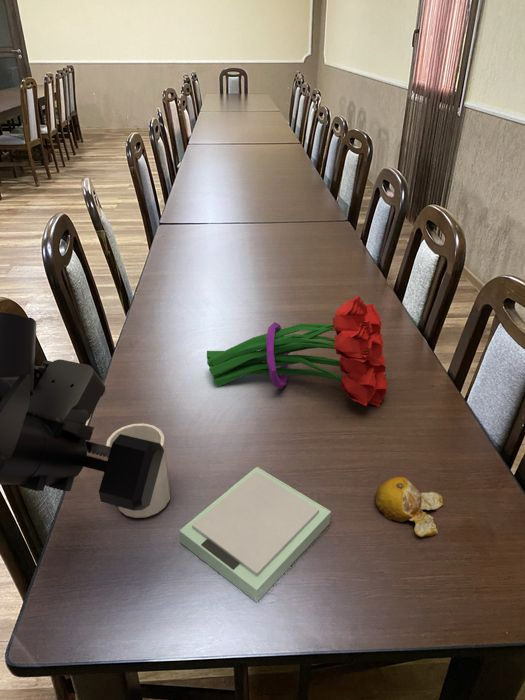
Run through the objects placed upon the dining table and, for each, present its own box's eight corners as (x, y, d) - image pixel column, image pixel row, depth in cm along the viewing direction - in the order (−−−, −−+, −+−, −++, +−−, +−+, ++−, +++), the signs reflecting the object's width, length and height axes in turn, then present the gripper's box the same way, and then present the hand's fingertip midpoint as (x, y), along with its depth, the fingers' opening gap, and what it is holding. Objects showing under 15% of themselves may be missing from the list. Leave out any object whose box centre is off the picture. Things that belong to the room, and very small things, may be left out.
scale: (256, 602, 57) (256, 586, 56) (180, 542, 64) (178, 526, 63) (330, 523, 67) (331, 507, 65) (256, 478, 73) (256, 462, 72)
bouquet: (228, 383, 103) (387, 369, 96) (206, 439, 89) (391, 428, 82) (201, 290, 94) (375, 267, 86) (172, 337, 80) (377, 314, 73)
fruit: (434, 544, 64) (440, 523, 62) (366, 522, 67) (369, 501, 65) (444, 497, 71) (449, 476, 69) (381, 478, 73) (384, 458, 71)
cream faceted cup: (140, 530, 66) (130, 469, 60) (106, 502, 69) (94, 443, 64) (181, 498, 70) (175, 439, 65) (147, 473, 74) (139, 416, 69)
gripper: (142, 374, 43) (203, 405, 58) (-44, 337, 48) (56, 374, 63) (103, 515, 41) (177, 509, 56) (-88, 461, 46) (26, 469, 61)
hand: (107, 460), depth 59 cm, fingers open, 9 cm apart
